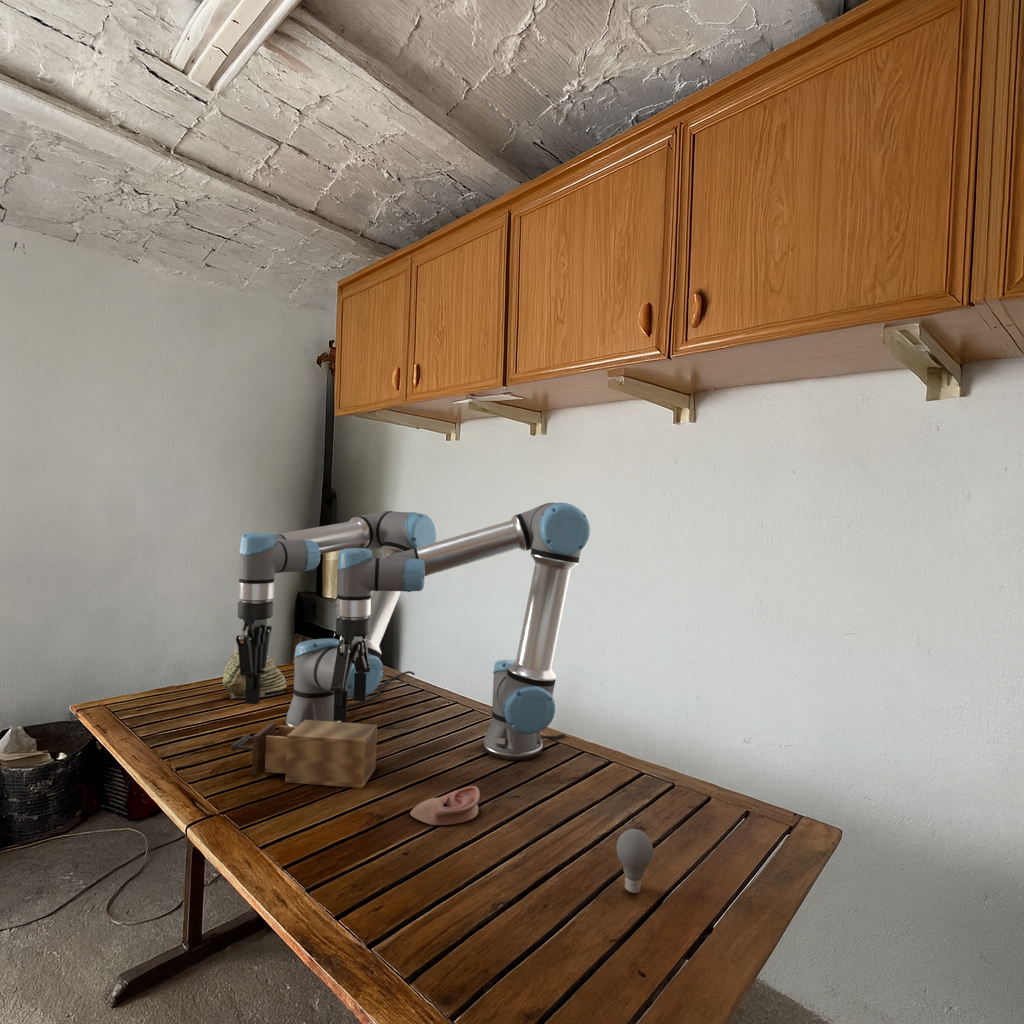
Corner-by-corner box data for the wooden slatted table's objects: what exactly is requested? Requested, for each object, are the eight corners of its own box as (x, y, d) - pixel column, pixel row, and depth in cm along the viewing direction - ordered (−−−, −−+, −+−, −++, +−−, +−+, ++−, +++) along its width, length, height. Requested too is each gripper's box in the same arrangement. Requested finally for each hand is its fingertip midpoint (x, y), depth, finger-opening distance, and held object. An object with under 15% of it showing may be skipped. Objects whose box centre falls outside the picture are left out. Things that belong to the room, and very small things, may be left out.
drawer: (227, 772, 141) (228, 734, 141) (246, 756, 150) (247, 720, 150) (322, 779, 140) (324, 741, 140) (336, 763, 149) (338, 726, 148)
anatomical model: (405, 801, 125) (424, 776, 136) (404, 821, 125) (423, 795, 136) (470, 810, 122) (484, 785, 133) (469, 831, 122) (483, 803, 133)
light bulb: (610, 879, 108) (613, 822, 108) (644, 879, 109) (647, 822, 109) (619, 902, 102) (622, 840, 102) (655, 901, 103) (658, 840, 103)
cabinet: (285, 782, 140) (287, 735, 140) (303, 763, 150) (305, 719, 150) (362, 788, 138) (364, 740, 138) (375, 768, 148) (377, 724, 148)
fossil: (218, 695, 195) (220, 647, 195) (278, 685, 208) (279, 640, 207) (228, 703, 189) (230, 653, 188) (289, 692, 201) (290, 645, 201)
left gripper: (253, 595, 151) (250, 693, 152) (225, 604, 138) (221, 711, 139) (284, 597, 151) (280, 695, 151) (258, 606, 138) (254, 713, 138)
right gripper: (354, 606, 156) (351, 692, 156) (316, 627, 131) (313, 728, 131) (384, 608, 155) (381, 694, 156) (351, 628, 130) (348, 730, 131)
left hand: (252, 702), depth 145 cm, fingers closed
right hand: (350, 710), depth 144 cm, fingers open, 13 cm apart
